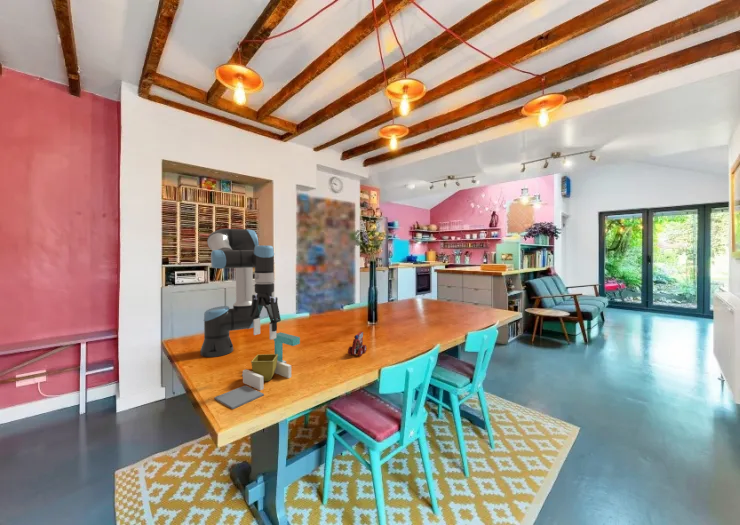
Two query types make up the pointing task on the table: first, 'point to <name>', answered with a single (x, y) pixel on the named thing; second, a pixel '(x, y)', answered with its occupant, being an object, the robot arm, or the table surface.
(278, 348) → the gate
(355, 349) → the toy fire truck
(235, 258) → the robot arm
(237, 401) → the mat
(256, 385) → the white bars
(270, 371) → the flower pot
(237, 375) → the table surface
